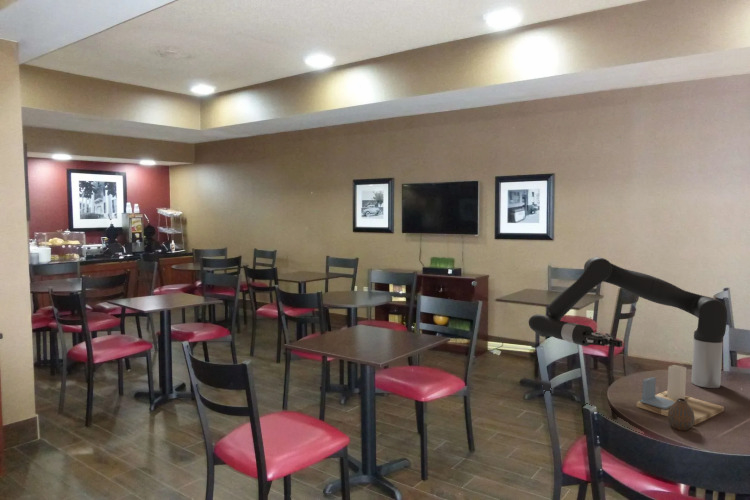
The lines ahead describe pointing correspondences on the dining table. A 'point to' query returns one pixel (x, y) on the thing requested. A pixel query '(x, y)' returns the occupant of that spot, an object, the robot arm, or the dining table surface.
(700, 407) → the puzzle board
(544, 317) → the robot arm
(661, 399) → the blue l-shaped block
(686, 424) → the vase
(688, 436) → the dining table surface
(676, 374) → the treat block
